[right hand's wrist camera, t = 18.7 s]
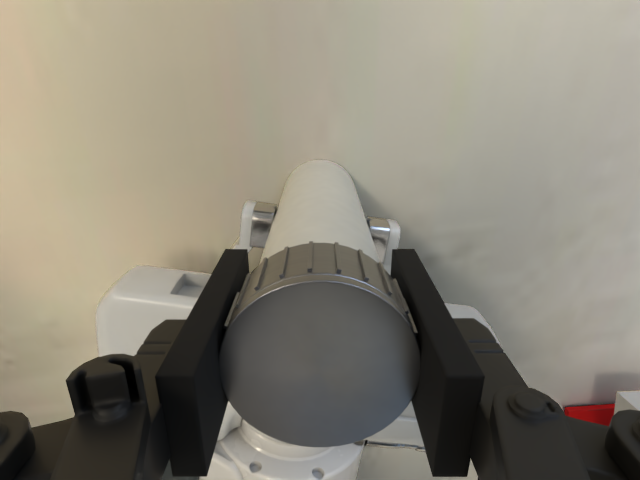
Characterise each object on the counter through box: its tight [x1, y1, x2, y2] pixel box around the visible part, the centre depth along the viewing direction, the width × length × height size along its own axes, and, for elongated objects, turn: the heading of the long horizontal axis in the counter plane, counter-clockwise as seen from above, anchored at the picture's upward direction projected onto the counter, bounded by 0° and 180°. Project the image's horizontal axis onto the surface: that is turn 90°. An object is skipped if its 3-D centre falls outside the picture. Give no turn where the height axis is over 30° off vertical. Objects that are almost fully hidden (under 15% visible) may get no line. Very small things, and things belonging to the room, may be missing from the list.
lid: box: [219, 241, 421, 447], centre depth 11 cm, size 5×5×2 cm
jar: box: [259, 160, 380, 265], centre depth 18 cm, size 4×4×16 cm
